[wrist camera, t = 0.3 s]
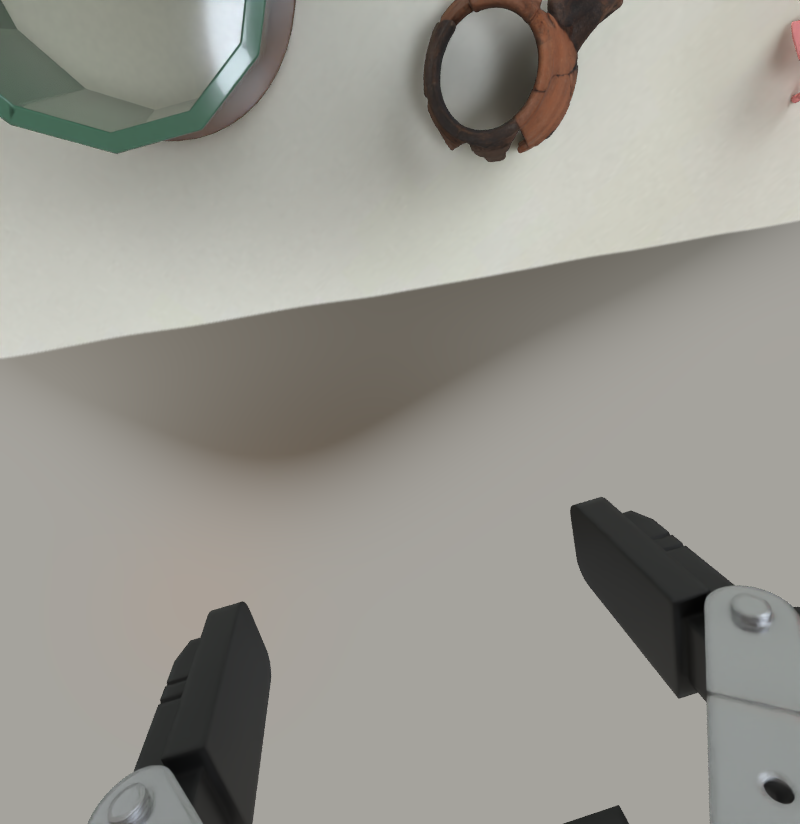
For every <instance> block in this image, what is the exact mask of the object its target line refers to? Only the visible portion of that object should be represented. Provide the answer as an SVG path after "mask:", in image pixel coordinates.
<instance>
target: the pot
mask: <svg viewBox="0 0 800 824" xmlns="http://www.w3.org/2000/svg"><path fill="white" fill-rule="evenodd" d="M272 7H273V0H0V117H1V118H2V119H3V120H5V121H6V122H7V123H9V124H11V125H13V126H17V127H20V128H24V129H28V130H31V131H35V132H39V133H42V134H46V135H50V136H53V137H57V138H60V139H64V140H68V141H71V142H75V143H79V144H82V145H86V146H90V147H93V148H97V149H101V150H104V151H108V152H112V153H115V154H118V153H121V152H125V151H128V150H132V149H136V148H139V147H143V146H146V145H150V144H154V143H157V142H161V141H164V140H168V139H171V138H175V137H179V136H182V135H186V134H189V133H193V132H197V131H200V130H202V129H203V128H204V127H205V126H206V125H207V124H208V123H209V122H210V121H211V120H212V119H213V118H214V117H215V116H216V115H217V114H218V113H219V112H220V111H221V110H222V109H223V108H224V107H225V106H226V104H227V103H228V102H229V100H230V99H231V98H232V96H233V95H234V94H235V93H236V91H237V90H238V89H239V87H240V86H241V85H242V84H243V82H244V81H245V80H246V78H247V77H248V76H249V74H250V73H251V72H252V71H253V69H254V68H255V67H256V65H257V64H258V63H259V62H260V60H261V59H262V58H263V56H264V55H265V54H266V52H267V45H268V37H269V29H270V22H271V14H272Z"/></svg>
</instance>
